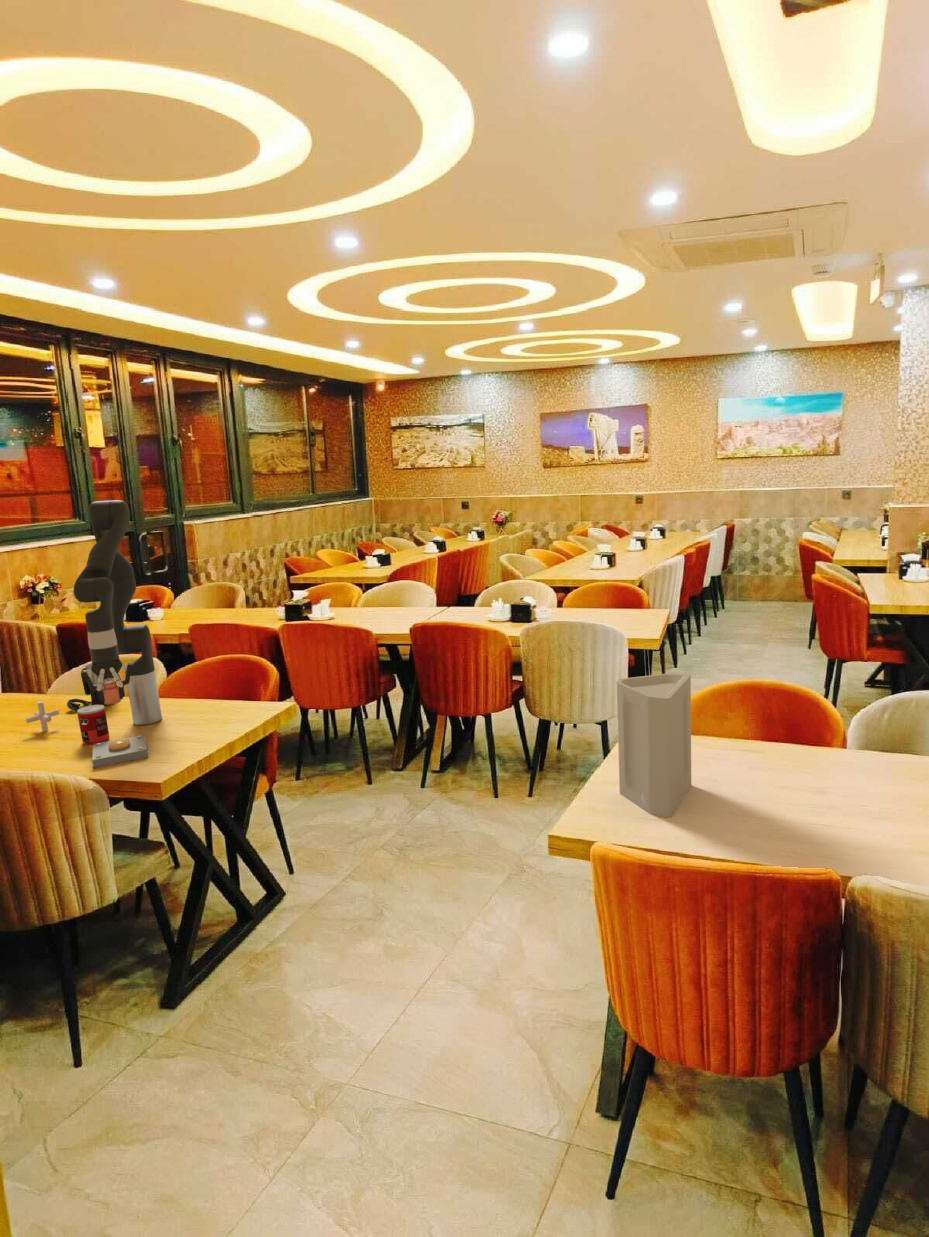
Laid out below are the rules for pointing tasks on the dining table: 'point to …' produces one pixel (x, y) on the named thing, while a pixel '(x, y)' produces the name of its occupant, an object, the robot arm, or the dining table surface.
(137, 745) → the square plate with knob
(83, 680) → the milk frother
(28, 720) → the pipe connector
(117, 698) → the orange rounded knob
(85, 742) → the canned food
